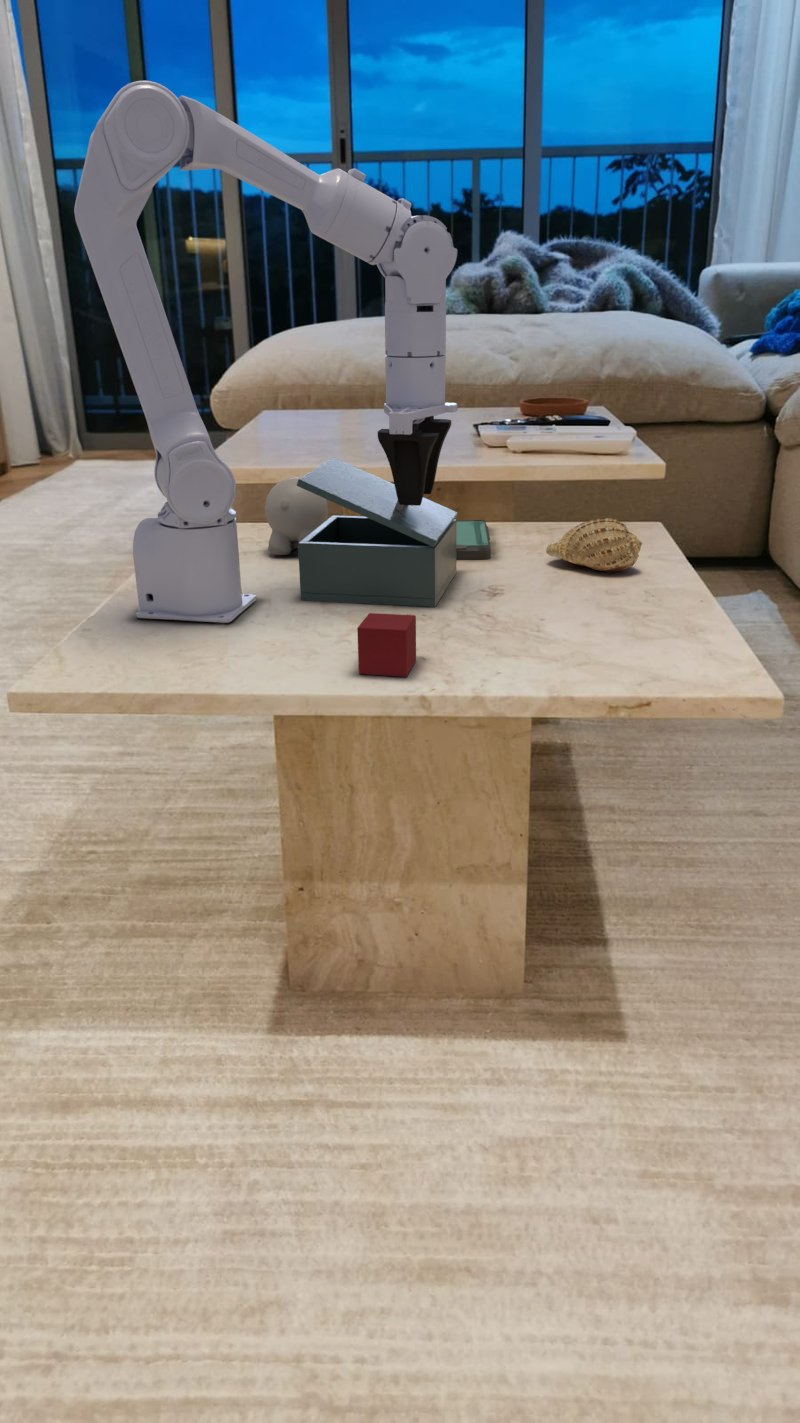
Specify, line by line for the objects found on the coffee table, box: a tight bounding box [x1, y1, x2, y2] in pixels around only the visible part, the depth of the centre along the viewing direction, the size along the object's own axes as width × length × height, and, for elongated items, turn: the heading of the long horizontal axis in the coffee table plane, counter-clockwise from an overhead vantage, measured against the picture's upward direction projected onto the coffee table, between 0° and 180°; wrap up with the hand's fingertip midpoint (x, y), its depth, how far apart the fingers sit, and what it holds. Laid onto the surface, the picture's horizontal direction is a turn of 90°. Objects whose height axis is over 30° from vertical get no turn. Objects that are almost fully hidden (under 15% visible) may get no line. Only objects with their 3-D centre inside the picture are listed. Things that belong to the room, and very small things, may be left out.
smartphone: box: [456, 519, 492, 560], centre depth 127 cm, size 7×1×15 cm
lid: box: [297, 457, 459, 547], centre depth 107 cm, size 14×13×5 cm
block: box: [356, 612, 417, 678], centre depth 88 cm, size 4×4×4 cm
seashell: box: [545, 517, 643, 573], centre depth 116 cm, size 8×6×10 cm
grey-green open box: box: [297, 515, 458, 608], centre depth 110 cm, size 14×13×6 cm
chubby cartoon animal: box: [264, 476, 329, 556], centre depth 125 cm, size 7×12×8 cm, turn 171°
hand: (415, 499), depth 107 cm, fingers closed on lid, 5 cm apart
